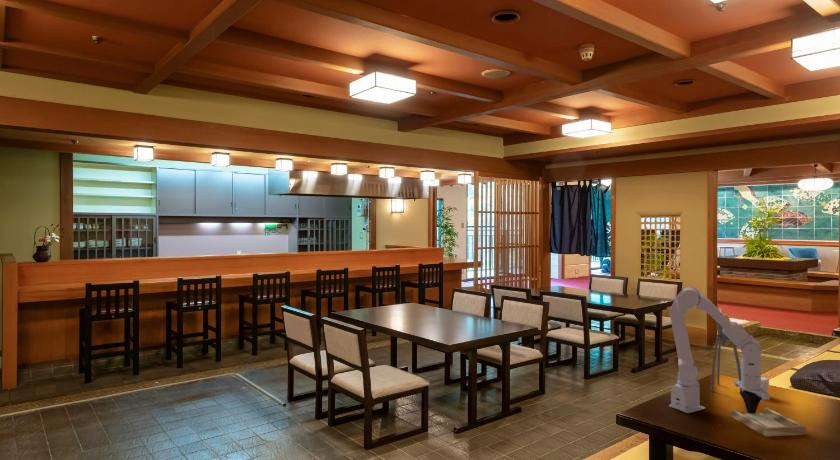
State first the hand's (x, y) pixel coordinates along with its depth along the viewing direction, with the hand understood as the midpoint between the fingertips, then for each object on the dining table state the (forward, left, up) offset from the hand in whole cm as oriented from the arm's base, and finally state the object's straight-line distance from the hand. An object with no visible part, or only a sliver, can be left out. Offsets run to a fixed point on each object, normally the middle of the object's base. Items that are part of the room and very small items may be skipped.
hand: (751, 413), depth 177 cm
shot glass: (+23, +12, -2) cm, 26 cm away
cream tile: (-4, -9, -2) cm, 10 cm away
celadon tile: (-1, -4, -2) cm, 4 cm away
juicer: (+19, +24, -2) cm, 30 cm away
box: (-2, -6, -1) cm, 7 cm away
